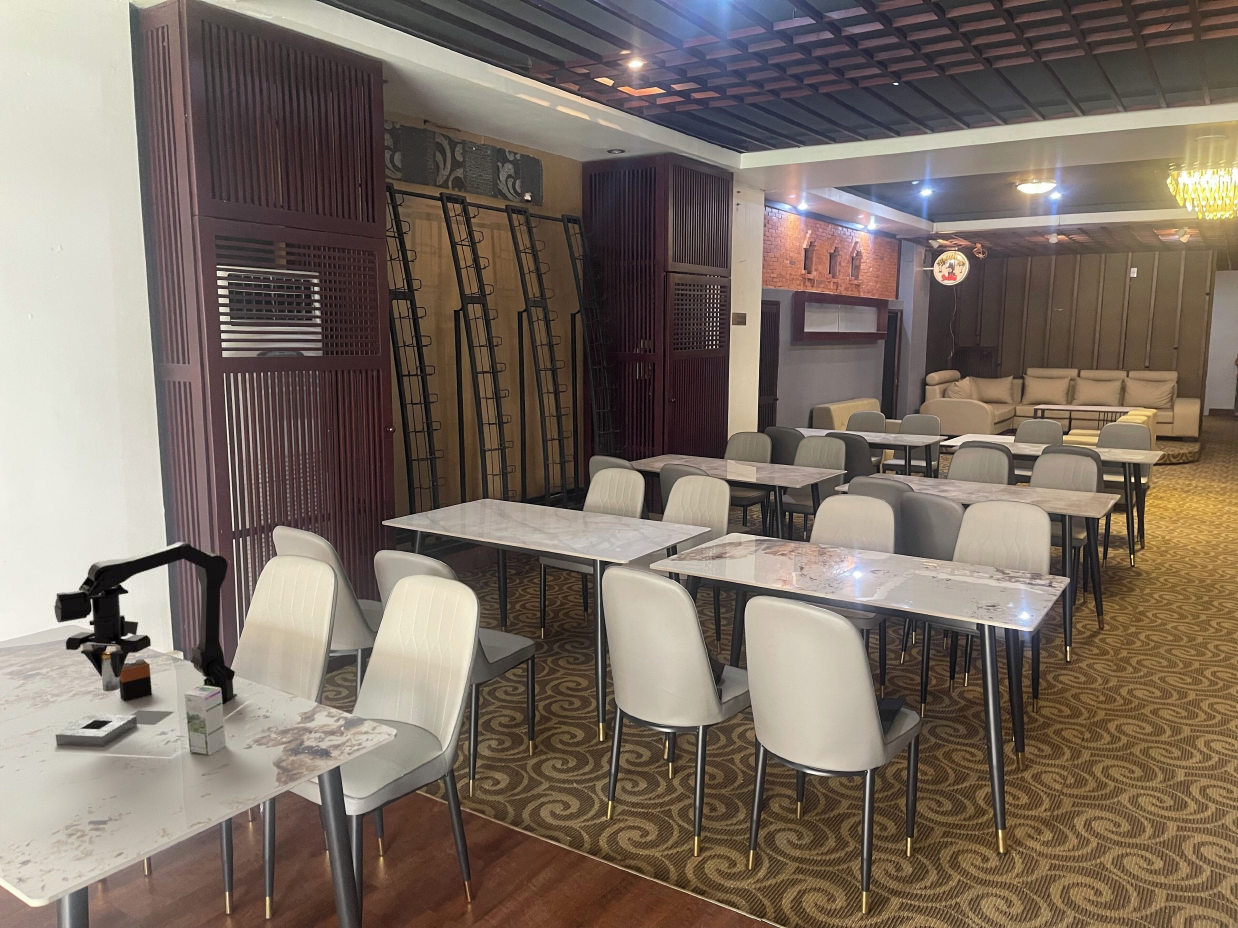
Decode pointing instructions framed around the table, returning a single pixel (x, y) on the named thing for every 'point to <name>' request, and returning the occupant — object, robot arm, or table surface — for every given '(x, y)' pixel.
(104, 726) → the block
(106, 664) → the silver copper cylinder
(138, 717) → the mat
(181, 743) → the table surface
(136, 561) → the robot arm
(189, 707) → the syrup box
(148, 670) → the battery
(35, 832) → the table surface
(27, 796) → the table surface
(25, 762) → the table surface
